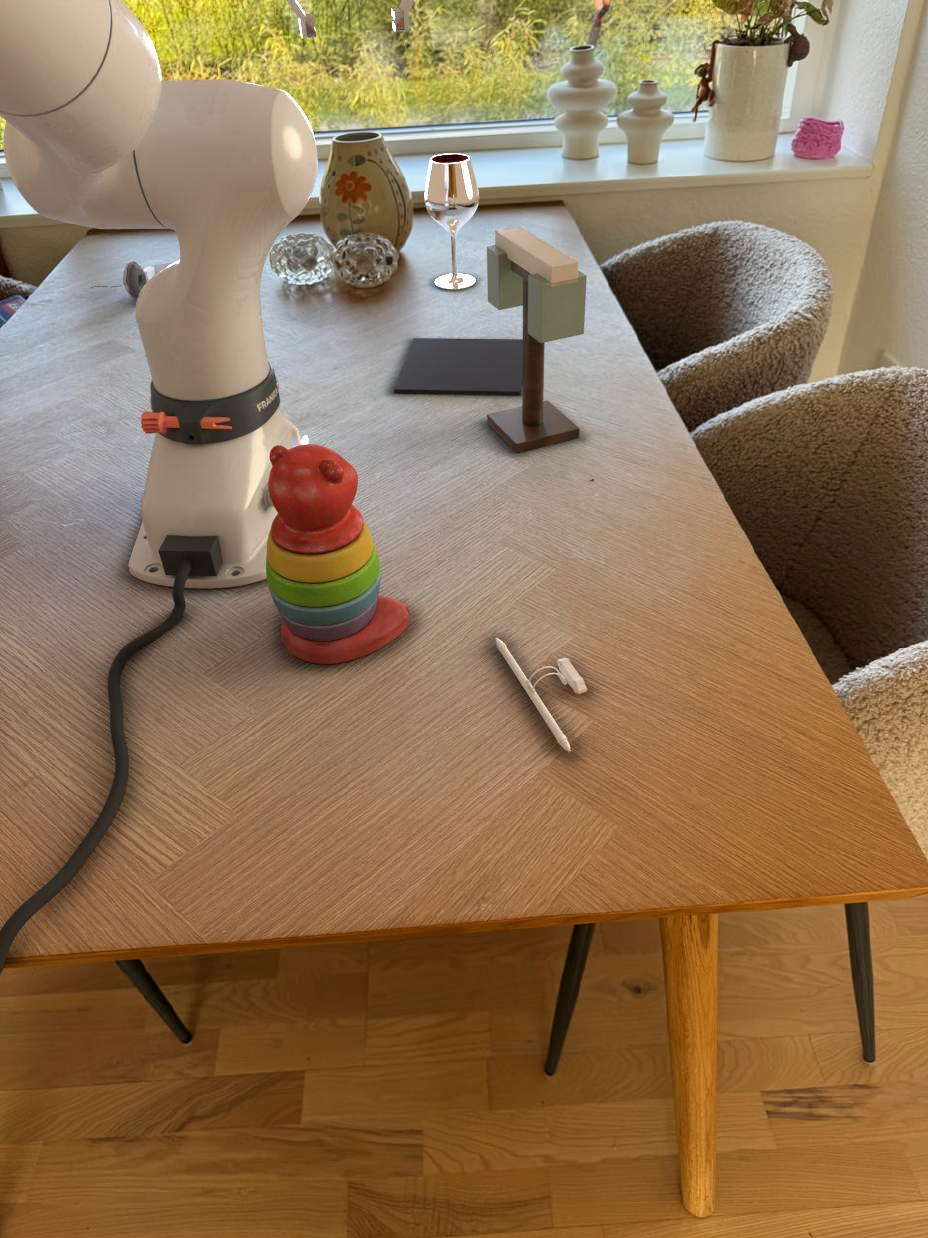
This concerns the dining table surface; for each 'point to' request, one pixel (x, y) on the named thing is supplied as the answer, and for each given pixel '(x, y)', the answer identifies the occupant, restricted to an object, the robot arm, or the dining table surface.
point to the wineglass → (452, 205)
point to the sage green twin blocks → (537, 284)
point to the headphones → (138, 277)
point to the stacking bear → (325, 560)
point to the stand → (531, 398)
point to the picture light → (567, 676)
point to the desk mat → (462, 367)
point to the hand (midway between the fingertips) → (355, 33)
